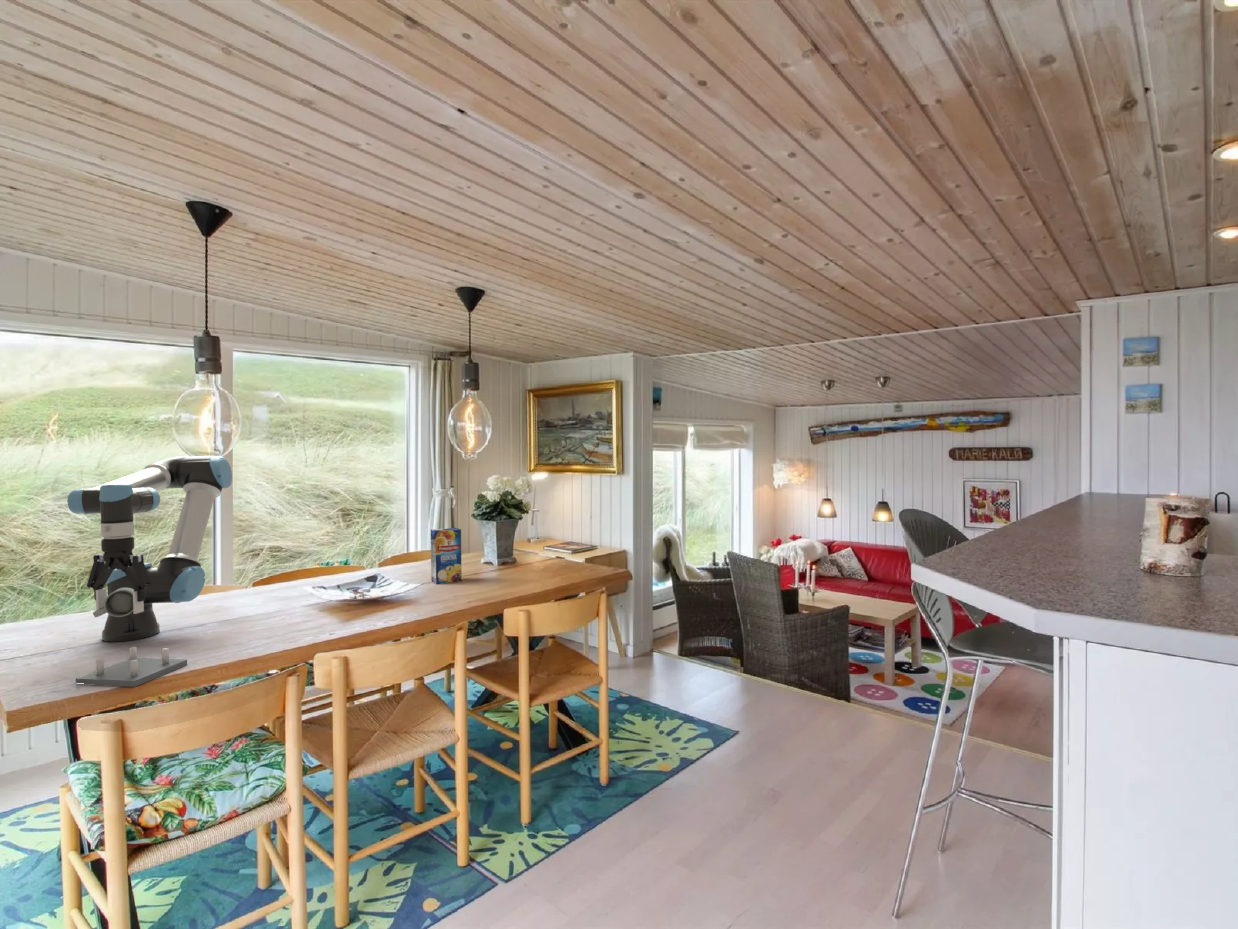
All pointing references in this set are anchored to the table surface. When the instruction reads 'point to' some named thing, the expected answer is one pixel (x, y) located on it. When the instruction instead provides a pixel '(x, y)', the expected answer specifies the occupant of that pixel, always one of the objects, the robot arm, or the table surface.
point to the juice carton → (446, 555)
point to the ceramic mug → (117, 603)
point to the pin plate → (124, 672)
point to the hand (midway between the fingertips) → (120, 612)
